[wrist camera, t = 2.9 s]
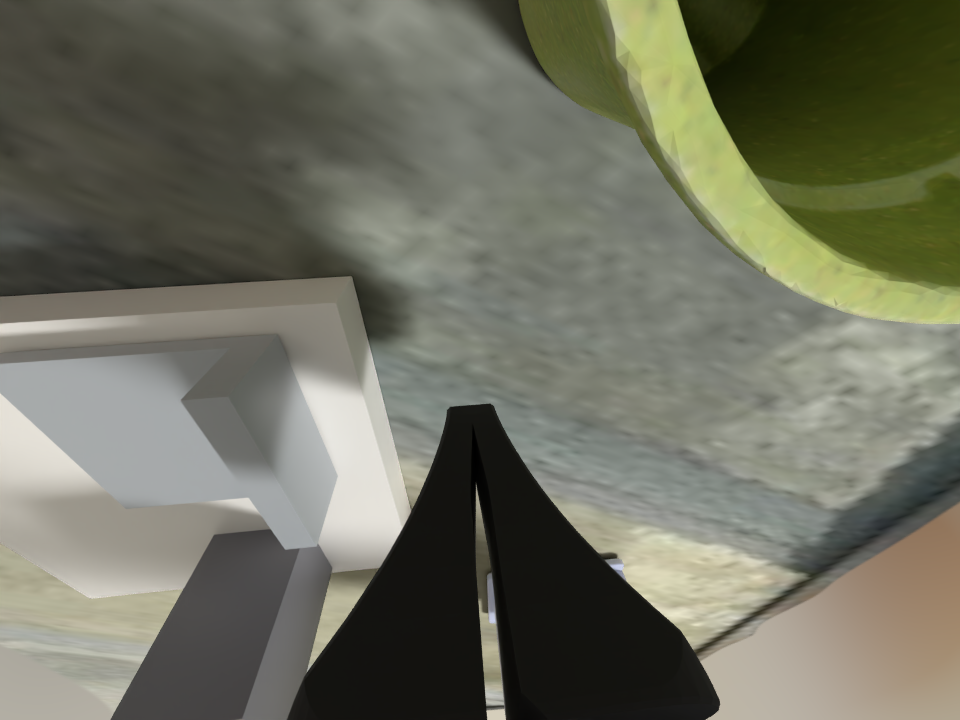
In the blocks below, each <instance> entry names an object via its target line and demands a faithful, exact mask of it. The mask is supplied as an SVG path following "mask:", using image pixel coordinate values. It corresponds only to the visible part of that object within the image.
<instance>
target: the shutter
mask: <svg viewBox="0 0 960 720" xmlns="http://www.w3.org/2000/svg"><path fill="white" fill-rule="evenodd" d="M0 394H1V395H3V396H4V397H5V398H6V399H7V400H8V401H9V402H10V403H11V404H12V405H13V406H15V407H16V408H17V409H18V410H19V411H20V412H21V413H22V414H23V415H24V416H25V417H26V418H28V419H29V420H30V421H31V422H32V423H33V424H34V425H35V426H36V427H37V428H38V429H40V430H41V431H42V432H43V433H44V434H45V435H46V436H47V437H48V438H49V439H50V440H51V441H53V442H54V443H55V444H56V445H57V446H58V447H59V448H60V449H61V450H62V451H63V452H65V453H66V454H67V455H68V456H69V457H70V458H71V459H72V460H73V461H74V462H75V463H76V464H78V465H79V466H80V467H81V468H82V469H83V470H84V471H85V472H86V473H87V474H88V475H89V476H91V477H92V478H93V479H94V480H95V481H96V482H97V483H98V484H99V485H100V486H101V487H103V488H104V489H105V490H106V491H107V492H108V493H109V494H110V495H111V496H112V497H113V498H114V499H116V500H117V501H118V502H119V503H120V504H121V505H122V506H123V507H124V508H125V509H131V508H142V507H153V506H164V505H174V504H185V503H196V502H207V501H217V500H228V499H239V498H249V499H250V500H251V502H252V503H253V505H254V506H255V508H256V509H257V510H258V512H259V513H260V515H261V516H262V517H263V519H264V520H265V522H266V523H267V525H268V526H269V527H270V529H271V530H272V532H273V533H274V535H275V536H276V537H277V539H278V540H279V542H280V543H281V544H282V546H283V547H284V549H285V550H287V549H297V548H306V547H316V546H317V544H318V541H319V537H320V534H321V531H322V527H323V524H324V521H325V517H326V514H327V511H328V507H329V504H330V501H331V497H332V494H333V491H334V487H335V484H336V481H337V477H338V475H337V473H336V470H335V468H334V466H333V463H332V461H331V459H330V456H329V454H328V452H327V449H326V447H325V445H324V442H323V440H322V437H321V435H320V433H319V430H318V428H317V426H316V423H315V421H314V419H313V416H312V414H311V412H310V409H309V407H308V405H307V402H306V400H305V397H304V395H303V393H302V390H301V388H300V386H299V383H298V381H297V379H296V376H295V374H294V372H293V369H292V367H291V364H290V362H289V360H288V357H287V355H286V353H285V350H284V348H283V346H282V343H281V341H280V339H279V336H278V334H273V335H259V336H244V337H229V338H214V339H199V340H184V341H169V342H154V343H139V344H124V345H110V346H95V347H80V348H65V349H50V350H35V351H20V352H5V353H0Z"/></svg>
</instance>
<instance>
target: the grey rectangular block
mask: <svg viewBox="0 0 960 720" xmlns="http://www.w3.org/2000/svg"><path fill="white" fill-rule="evenodd" d="M331 572H332V566H331V565H330V563H329V561H328V559H327V558H326V556H325V554H324V553H323V551H322V549H321V547H320V546H319V544H317V546H316V547H306V548H297V549H287V550H285V549H284V547H283V546H282V544H281V543H280V542H279V540H278V539H277V537H276V536H275V535H274V533H273V532H272V530H271V529H266V530H256V531H246V532H236V533H226V534H216V535H214V536H213V537H212V539H211V541H210V543H209V544H208V546H207V548H206V550H205V552H204V553H203V555H202V557H201V559H200V561H199V562H198V564H197V566H196V568H195V569H194V571H193V573H192V575H191V577H190V578H189V580H188V582H187V584H186V586H185V587H184V589H183V591H182V593H181V595H180V596H179V598H178V600H177V602H176V603H175V605H174V607H173V609H172V611H171V612H170V614H169V616H168V618H167V620H166V621H165V623H164V625H163V627H162V628H161V630H160V632H159V634H158V636H157V637H156V639H155V641H154V643H153V645H152V646H151V648H150V650H149V652H148V653H147V655H146V657H145V659H144V661H143V662H142V664H141V666H140V668H139V670H138V671H137V673H136V675H135V677H134V678H133V680H132V682H131V684H130V686H129V687H128V689H127V691H126V693H125V695H124V696H123V698H122V700H121V702H120V704H119V705H118V707H117V709H116V711H115V712H114V714H113V716H112V718H111V720H287V718H288V715H289V712H290V710H291V707H292V704H293V702H294V699H295V697H296V695H297V692H298V690H299V687H300V685H301V683H302V681H303V678H304V676H305V675H306V672H307V668H308V664H309V660H310V656H311V652H312V648H313V644H314V640H315V636H316V632H317V628H318V624H319V620H320V616H321V612H322V608H323V604H324V600H325V596H326V592H327V588H328V584H329V580H330V576H331Z"/></svg>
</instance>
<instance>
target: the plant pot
mask: <svg viewBox="0 0 960 720" xmlns="http://www.w3.org/2000/svg"><path fill="white" fill-rule="evenodd" d="M518 2H519V7H520V12H521V16H522V20H523V23H524V27H525V30H526V33H527V35H528V38H529V41H530V44H531V46H532V48H533V51H534V53H535V55H536V57H537V59H538V61H539V63H540V64H541V66H542V68H543V69H544V71H545V72H546V74H547V75H548V76H549V77H550V79H551V80H552V81H553V82H554V84H555V85H556V86H557V87H558V88H559V89H560V90H561V91H562V92H563V93H564V94H565V95H567V96H568V97H569V98H570V99H572V100H573V101H574V102H576V103H577V104H579V105H580V106H582V107H584V108H586V109H588V110H590V111H592V112H594V113H597V114H599V115H601V116H604V117H606V118H609V119H611V120H614V121H616V122H619V123H621V124H624V125H626V126H629V127H631V128H633V129H635V130H636V132H637V134H638V136H639V138H640V140H641V142H642V144H643V145H644V147H645V148H646V150H647V151H648V153H649V154H650V156H651V157H652V159H653V160H654V162H655V163H656V165H657V166H658V168H659V169H660V171H661V172H662V174H663V175H664V177H665V178H666V180H667V181H668V183H669V184H670V185H671V187H672V188H673V189H674V190H675V192H676V193H677V194H678V195H679V197H680V198H681V199H682V200H683V202H684V203H685V204H686V206H687V207H688V208H689V209H690V211H691V212H692V213H693V214H694V216H695V217H696V218H697V220H698V221H699V222H700V223H701V224H702V225H703V226H704V227H705V228H706V229H707V230H708V231H709V232H711V233H712V234H713V235H714V236H715V237H716V238H717V239H718V240H719V241H720V242H721V243H723V244H724V245H725V246H726V247H727V248H728V249H729V250H730V251H732V252H733V253H734V254H735V255H736V256H738V257H739V258H741V259H742V260H744V261H745V262H746V263H748V264H749V265H751V266H752V267H754V268H755V269H756V270H758V271H759V272H761V273H763V274H764V275H766V276H768V277H770V278H771V279H773V280H775V281H777V282H778V283H780V284H782V285H784V286H786V287H787V288H789V289H791V290H793V291H795V292H797V293H799V294H801V295H803V296H805V297H807V298H809V299H811V300H814V301H816V302H818V303H821V304H824V305H827V306H829V307H832V308H835V309H837V310H840V311H843V312H846V313H850V314H854V315H858V316H862V317H866V318H872V319H880V320H888V321H897V322H907V323H917V324H960V0H518Z"/></svg>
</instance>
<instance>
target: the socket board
mask: <svg viewBox="0 0 960 720" xmlns="http://www.w3.org/2000/svg"><path fill="white" fill-rule="evenodd" d="M273 334H278V336H279V339H280V341H281V343H282V346H283V348H284V350H285V353H286V355H287V357H288V360H289V362H290V364H291V367H292V369H293V372H294V374H295V376H296V379H297V381H298V383H299V386H300V388H301V390H302V393H303V395H304V397H305V400H306V402H307V405H308V407H309V409H310V412H311V414H312V416H313V419H314V421H315V423H316V426H317V428H318V430H319V433H320V435H321V437H322V440H323V442H324V445H325V447H326V449H327V452H328V454H329V456H330V459H331V461H332V463H333V466H334V468H335V470H336V473H337V475H338V477H337V481H336V484H335V487H334V491H333V494H332V497H331V501H330V504H329V507H328V511H327V514H326V517H325V521H324V524H323V527H322V531H321V534H320V537H319V541H318V544H319V546H320V547H321V549H322V551H323V553H324V554H325V556H326V558H327V559H328V561H329V563H330V565H331V566H332V572H331V573H336V572H345V571H355V570H364V569H373V568H380V566H381V565H382V563H383V561H384V560H385V558H386V556H387V555H388V553H389V551H390V550H391V548H392V546H393V544H394V543H395V541H396V539H397V537H398V536H399V534H400V532H401V530H402V528H403V527H404V525H405V523H406V521H407V519H408V517H409V515H410V513H411V508H410V504H409V500H408V496H407V492H406V489H405V485H404V481H403V477H402V473H401V469H400V465H399V461H398V457H397V453H396V449H395V445H394V441H393V437H392V433H391V429H390V425H389V421H388V417H387V413H386V409H385V405H384V401H383V397H382V393H381V389H380V385H379V382H378V378H377V374H376V370H375V366H374V362H373V358H372V354H371V350H370V346H369V342H368V338H367V334H366V330H365V326H364V322H363V318H362V314H361V310H360V306H359V302H358V298H357V294H356V290H355V286H354V282H353V278H352V276H346V277H329V278H312V279H295V280H277V281H260V282H243V283H226V284H209V285H192V286H175V287H158V288H141V289H123V290H106V291H89V292H72V293H55V294H38V295H21V296H4V297H0V353H5V352H20V351H35V350H50V349H65V348H80V347H95V346H110V345H124V344H139V343H154V342H169V341H184V340H199V339H214V338H229V337H244V336H259V335H273ZM266 529H270V527H269V526H268V525H267V523H266V522H265V520H264V519H263V517H262V516H261V515H260V513H259V512H258V510H257V509H256V508H255V506H254V505H253V503H252V502H251V500H250V499H249V498H239V499H228V500H217V501H207V502H196V503H185V504H174V505H164V506H153V507H142V508H131V509H125V508H124V507H123V506H122V505H121V504H120V503H119V502H118V501H117V500H116V499H114V498H113V497H112V496H111V495H110V494H109V493H108V492H107V491H106V490H105V489H104V488H103V487H101V486H100V485H99V484H98V483H97V482H96V481H95V480H94V479H93V478H92V477H91V476H89V475H88V474H87V473H86V472H85V471H84V470H83V469H82V468H81V467H80V466H79V465H78V464H76V463H75V462H74V461H73V460H72V459H71V458H70V457H69V456H68V455H67V454H66V453H65V452H63V451H62V450H61V449H60V448H59V447H58V446H57V445H56V444H55V443H54V442H53V441H51V440H50V439H49V438H48V437H47V436H46V435H45V434H44V433H43V432H42V431H41V430H40V429H38V428H37V427H36V426H35V425H34V424H33V423H32V422H31V421H30V420H29V419H28V418H26V417H25V416H24V415H23V414H22V413H21V412H20V411H19V410H18V409H17V408H16V407H15V406H13V405H12V404H11V403H10V402H9V401H8V400H7V399H6V398H5V397H4V396H3V395H1V394H0V543H1V544H2V545H4V546H6V547H7V548H9V549H10V550H12V551H14V552H15V553H17V554H18V555H20V556H22V557H23V558H25V559H27V560H28V561H30V562H31V563H33V564H35V565H36V566H38V567H40V568H41V569H43V570H44V571H46V572H48V573H49V574H51V575H52V576H54V577H56V578H57V579H59V580H61V581H62V582H64V583H65V584H67V585H69V586H70V587H72V588H73V589H75V590H77V591H78V592H80V593H82V594H83V595H85V596H86V597H88V598H90V599H92V598H102V597H111V596H120V595H130V594H139V593H148V592H158V591H167V590H177V589H184V587H185V586H186V584H187V582H188V580H189V578H190V577H191V575H192V573H193V571H194V569H195V568H196V566H197V564H198V562H199V561H200V559H201V557H202V555H203V553H204V552H205V550H206V548H207V546H208V544H209V543H210V541H211V539H212V537H213V536H214V535H216V534H226V533H236V532H246V531H256V530H266Z"/></svg>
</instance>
